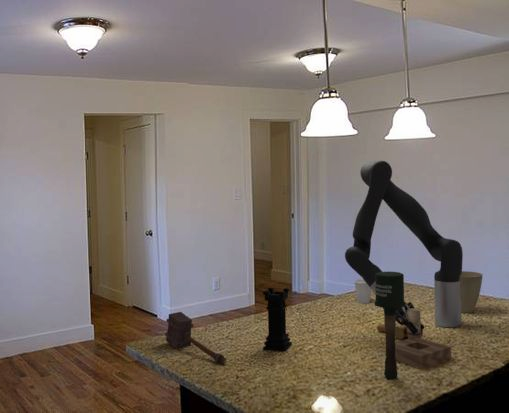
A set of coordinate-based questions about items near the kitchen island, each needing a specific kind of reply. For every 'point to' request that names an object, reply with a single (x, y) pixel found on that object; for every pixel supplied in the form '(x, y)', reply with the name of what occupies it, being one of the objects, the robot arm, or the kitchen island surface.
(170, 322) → the hammer
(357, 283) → the dixie cup
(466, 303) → the plant pot
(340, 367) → the kitchen island surface
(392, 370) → the potato masher grenade
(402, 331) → the kendama
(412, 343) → the block
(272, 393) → the kitchen island surface
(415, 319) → the peg
